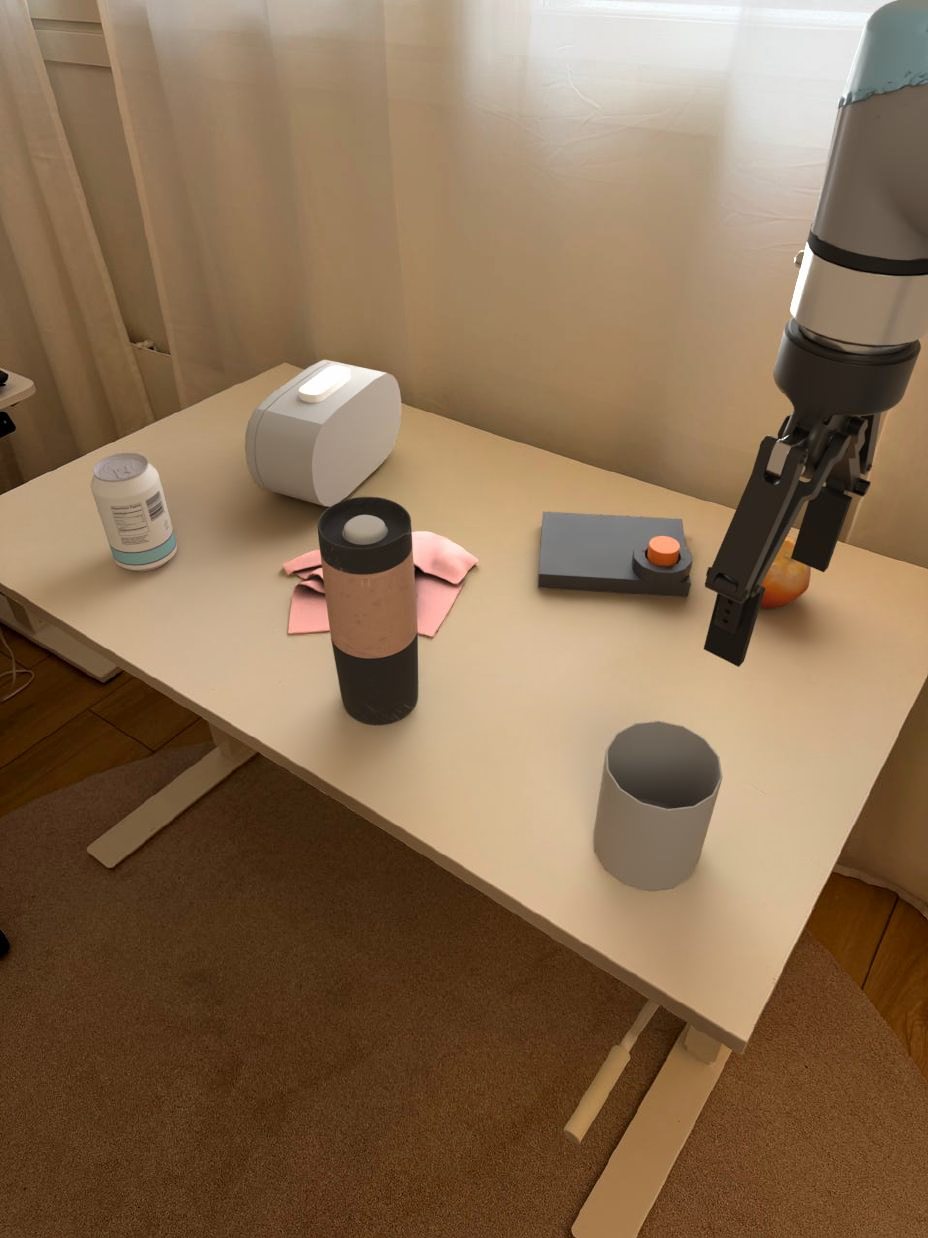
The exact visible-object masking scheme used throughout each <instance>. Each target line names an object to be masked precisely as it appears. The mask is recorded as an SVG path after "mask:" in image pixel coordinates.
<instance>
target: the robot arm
mask: <svg viewBox="0 0 928 1238" xmlns="http://www.w3.org/2000/svg"><path fill="white" fill-rule="evenodd" d="M861 32H862V33H861V36H860V39H859V42H858V45H857V49H856V52H855V55H854V57H853V61H852V64H851V67H850V70H849V73H848V76H847V80H846V83H845V86H844V89H843V92H842V95H841V97H840V98H839V99H838V100H837V101H838V102H837V106H836V109H837V112H836V118H835V122H834V127H833V131H832V137H831V140H830V146H829V150H828V155H827V160H826V163H825V164H826V165H825V169H824V173H823V178H822V181H821V187H820V191H819V196H818V200H817V205H816V208H815V213H814V217H813V221H812V222H811V224H810V229H809V233H808V237H807V241H806V244H805V249H804V250H799V252H798V253H797V254H796V255H795V257H794V261H793V264H794V266H795V267H796V268H798V269H799V273H798V278H797V279H796V280H797V281H796V284H795V289H794V293H793V297H792V300H791V306H790V314H791V316H792V317H791V318H790V319H789V320H788V321H787V322H786V323H785V325H784V328H783V332H782V335H781V336H782V337H781V340H780V344H779V347H778V351H777V356H776V360H775V364H774V368H773V375H772V376H773V381H774V383H775V385H776V387H777V389H778V390H779V391H780V392H781V393H782V394H783V395H784V396H785V397H786V398H787V399H788V400H789V402H790V403H791V405H792V407H793V411H792V412H791V414H788V415H786V417H785V418H784V420H783V421H782V424H781V425H780V427H779V430H778V432H777V437H776V436H773V435H770V434H766V436H764V438H763V439H762V440H761V441H760V443H759V448H758V452H757V455H756V458H755V462H754V465H753V468H752V472H751V474H750V476H749V479H748V481H747V483H746V486H745V489H744V490H743V494H742V495H741V498H740V500H739V502H738V505H737V506H736V510H735V511H734V514H733V515H732V518H731V521H730V523H729V526H728V528H727V531H726V532H725V535H724V537H723V539H722V542H721V544H720V547H719V549H718V552H717V554H716V555H715V558H714V561H713V562H712V566H711V567H710V566H708V567H707V570H706V574H705V575H706V578H705V582H704V588H706V589H708V590H711V591H712V592H715V593H716V598H715V602H714V605H713V610H712V614H711V616H710V622H709V626H708V629H707V634H706V637H705V641H704V645H703V650H704V651H706V652H708V653H710V654H712V655H714V656H716V657H718V658H720V659H723V660H724V661H725V662H728V663H730V664H732V665H734V666H735V667H737V668H740V667H741V665H742V664H743V663H745V660H746V656H747V653H748V649H749V646H750V642H751V639H752V635H753V632H754V629H755V626H756V622H757V619H758V616H759V612H760V609H761V607H760V606H761V602H762V599H763V596H764V592H765V589H766V588H764V587H762V586H761V584H762V582H763V581H764V579H765V577H766V575H767V573H768V571H769V569H770V567H771V565H772V563H773V561H774V560H775V558H776V556H777V554H778V552H779V550H780V548H781V546H782V544H783V542H784V541H785V539H786V537H787V536H789V532H790V531H791V529H792V527H793V526H794V524H795V521H797V518H798V516H799V514H800V512H801V510H802V509H803V506H804V505H805V503H806V502H807V505H806V508H805V512H804V515H803V517H802V521H801V524H800V527H799V531H798V533H797V537H796V539H795V540H796V543H795V546H794V549H793V553H792V556H791V559H794V560H796V561H798V562H801V563H803V564H805V565H807V566H810V567H811V568H812V569H815V570H817V571H820V572H821V573H825V572H826V571H827V569H828V568H829V565H830V563H831V561H832V557H833V555H834V552H835V549H836V546H837V543H838V540H839V538H840V534H841V532H842V529H843V526H844V524H845V520H846V519H847V515H848V512H849V509H850V506H851V503H852V500H853V498H854V497H853V496H851V495H849V493H851V494H854V495H857V496H859V497H862V498H864V497H865V496H866V494H867V493H868V491H869V489H870V486H871V483H872V482H871V481H869V480H867V479H864V478H861V475H864V476H866V475H867V474H868V473H869V472H871V471H872V468H873V462H874V456H875V451H876V445H877V440H878V433H879V427H880V421H881V417H882V413H885V412H887V411H889V410H891V409H894V407H895V406H897V405H898V404H899V403H900V402H901V401H902V400H903V398H904V396H905V394H906V390H907V388H908V385H909V382H910V380H911V377H912V374H913V371H914V369H915V366H916V363H917V361H918V358H919V355H920V352H921V350H922V346H921V342H920V339H922V338H923V337H925V336H926V335H927V334H928V0H893V1H890V2H887V3H885V4H884V5H882V6H880V7H879V8H878V9H876V10H875V11H874V12H873V13H872V14H871V16H869V18H868V19H867V21H866V23H865V25H864V27H863V29H862V31H861ZM800 478H803V479H806V480H809V481H803V480H800ZM824 484H825V486H824Z"/></svg>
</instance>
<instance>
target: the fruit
mask: <svg viewBox="0 0 928 1238" xmlns="http://www.w3.org/2000/svg"><path fill="white" fill-rule="evenodd" d="M796 540H797V539H795V538H793V537H792V536H789V535H787V537H786V539H785V541H784V542H783V544H782V546H781V548H780V550H779V552H778V554H777V556H776V558H775V560H774V561H773V563H772V565H771V567H770V569H769V571H768V573H767V575H766V577H765V579H764V581H763V582H762V584H761V586H762V587H764V588H766V589H765V592H764V596H763V599H762V602H761V606H760V609H762V610H773V609H777V608H781V607H783V606H786V605H788V604H790V603H793V602H794V601H795V600H797V599H798V598H800V597H801V596H802V595H803V594H804V593H805V592H807V590H808V588H809V586H810V581H811V574H812V573H811V572H812V569H811V568H812V567H810V566H807V565H805V564H803V563H801V562H798V561H796V560H794V559H791V556H792V553H793V549H794V546H795V543H796Z"/></svg>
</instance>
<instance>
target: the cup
mask: <svg viewBox="0 0 928 1238" xmlns="http://www.w3.org/2000/svg"><path fill="white" fill-rule="evenodd" d="M723 778H724V776H723V770H722V764H721V759H720V756H719V755H718V753H717V751H715V750H714V748H713V746H711V744H710V742H708V740H707V739H706V738H705V737H703V736H701V735H700V734H698V733H696V732H695V731H693V730H691V729H690V728H688V727H686V726H684V725H681V724H676V723H671V722H667V721H664V720H663V721H662V720H653V721H651V720H650V721H642V722H635V723H633V724H631V725H629V726H626V727H625V728H624V729H622V730H620V731H618V732H616V733H615V735H614V736H613V737H612V740H611V741H610V742H609V744H608V746H607V747H606V749H605V754H604V761H603V766H602V773H601V780H600V788H599V794H598V795H599V796H598V800H597V801H598V802H597V808H596V814H595V822H594V828H593V848H594V849H593V850H594V853H595V855H596V857H597V859H598V860H599V862H600V864H601V865H602V867H603V870H604V871H606V873H608V874H610V875H611V876H612V877H614V878H615V879H616V880H618V881H619V882H621V883H622V884H623V885H625V886H628V887H631V888H635V889H640V890H643V891H647V892H655V891H664V890H672V889H675V888H676V887H678V886H679V885H681V884H682V883H684V882H685V881H687V880H689V878H691V877H692V876H693V874H694V872H695V869H696V867H697V866H698V865H697V864H698V863H699V860H700V858H701V855H702V851H703V847H704V844H705V840H706V837H707V834H708V830H709V826H710V823H711V819H712V816H713V813H714V809H715V805H716V802H717V799H718V795H719V792H720V789H721V785H722V781H723Z"/></svg>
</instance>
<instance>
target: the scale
mask: <svg viewBox="0 0 928 1238" xmlns="http://www.w3.org/2000/svg"><path fill="white" fill-rule="evenodd" d="M540 533H541V534H540V549H539V561H538V562H539V563H538V575H537V576H538V577H537V588H538V589H550V590H551V589H552V590H566V591H567V590H568V591H569V590H570V591H585V592H603V593H616V594H618V593H619V594H632V595H633V594H634V595H649V596H663V597H665V596H667V597H668V596H669V597H682V598H688V597H689V596H690V595H689V594H690V590H691V585H692V580H691V572H692V571H691V570H692V566H693V557H692V552H691V551H690V550H689V549H688V548H687V546H686V545H687V544H686V539H685V531H684V524H683V519H682V518H670V517H669V518H668V517H652V516H635V515H632V516H631V515H614V514H598V513H596V514H595V513H577V512H562V511H561V512H557V511H542V519H541V532H540ZM658 536H667V537H671V538H673V539H675V540H676V541H678V543H679V544H680V550H679V555H678V560H677V562H676V563H675V564H674V565H672V566H658V565H656V564H653V563H651V562H650V561H649V560H648V558H647V554H648V548H649V542H650V540H651V539H653V538H654V537H658Z"/></svg>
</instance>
